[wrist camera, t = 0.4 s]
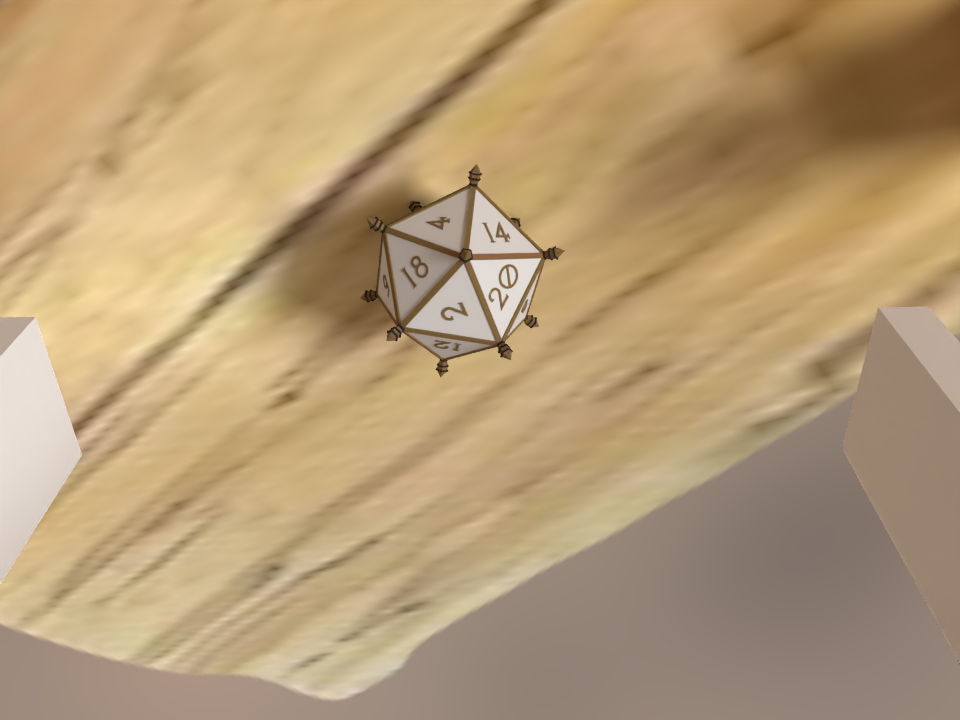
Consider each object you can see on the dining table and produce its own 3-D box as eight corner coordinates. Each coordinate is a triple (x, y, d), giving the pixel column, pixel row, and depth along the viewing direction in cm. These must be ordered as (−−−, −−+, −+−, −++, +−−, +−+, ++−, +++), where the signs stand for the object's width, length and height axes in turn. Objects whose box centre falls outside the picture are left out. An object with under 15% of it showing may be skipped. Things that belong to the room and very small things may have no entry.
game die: (452, 173, 44) (469, 99, 34) (571, 290, 44) (621, 250, 35) (327, 295, 43) (306, 255, 33) (449, 415, 43) (464, 411, 33)
